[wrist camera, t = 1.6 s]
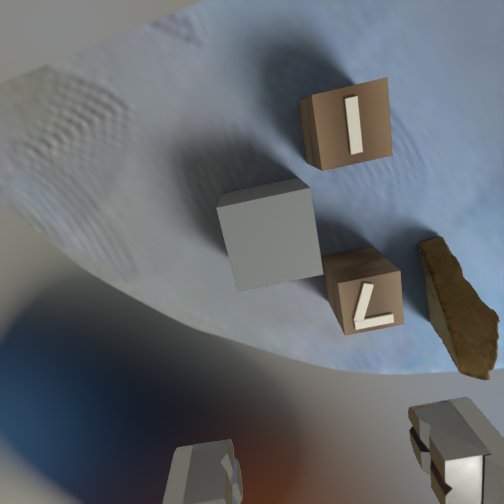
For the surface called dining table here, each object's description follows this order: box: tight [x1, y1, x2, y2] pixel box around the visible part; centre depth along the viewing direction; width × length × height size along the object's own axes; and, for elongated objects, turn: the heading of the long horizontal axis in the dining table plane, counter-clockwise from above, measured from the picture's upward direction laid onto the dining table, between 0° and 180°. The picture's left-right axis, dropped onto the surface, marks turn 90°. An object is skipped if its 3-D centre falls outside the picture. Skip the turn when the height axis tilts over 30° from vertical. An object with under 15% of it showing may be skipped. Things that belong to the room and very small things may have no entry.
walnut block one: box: [298, 78, 393, 171], centre depth 25 cm, size 5×5×6 cm
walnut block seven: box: [322, 247, 404, 335], centre depth 30 cm, size 5×5×6 cm
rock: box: [418, 237, 500, 380], centre depth 30 cm, size 11×9×10 cm
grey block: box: [216, 177, 323, 292], centre depth 28 cm, size 7×7×6 cm
